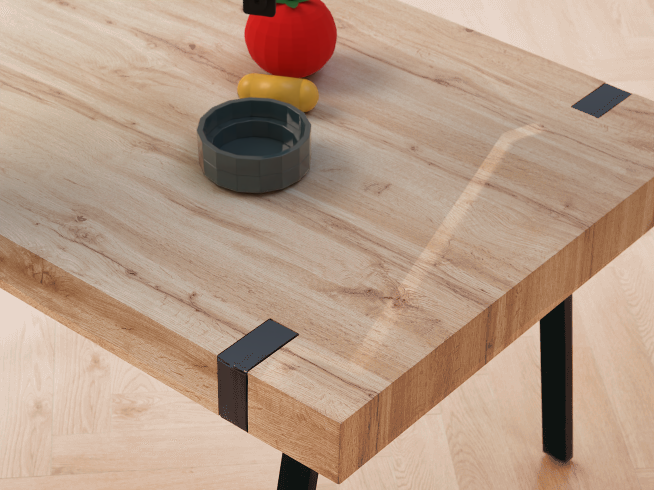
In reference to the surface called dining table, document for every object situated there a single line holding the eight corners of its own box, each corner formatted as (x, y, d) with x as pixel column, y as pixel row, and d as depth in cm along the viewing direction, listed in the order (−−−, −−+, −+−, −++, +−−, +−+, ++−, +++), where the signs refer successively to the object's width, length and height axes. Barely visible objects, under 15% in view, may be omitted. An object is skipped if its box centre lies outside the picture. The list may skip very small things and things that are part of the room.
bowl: (179, 177, 108) (175, 139, 105) (235, 123, 116) (233, 87, 113) (278, 209, 105) (277, 171, 102) (328, 151, 112) (329, 114, 110)
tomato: (350, 86, 122) (352, 5, 116) (263, 102, 119) (260, 19, 112) (316, 43, 129) (317, -36, 123) (233, 57, 126) (230, -23, 119)
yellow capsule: (231, 92, 115) (238, 64, 117) (236, 110, 119) (243, 83, 120) (314, 102, 115) (320, 74, 116) (317, 120, 118) (322, 92, 119)
